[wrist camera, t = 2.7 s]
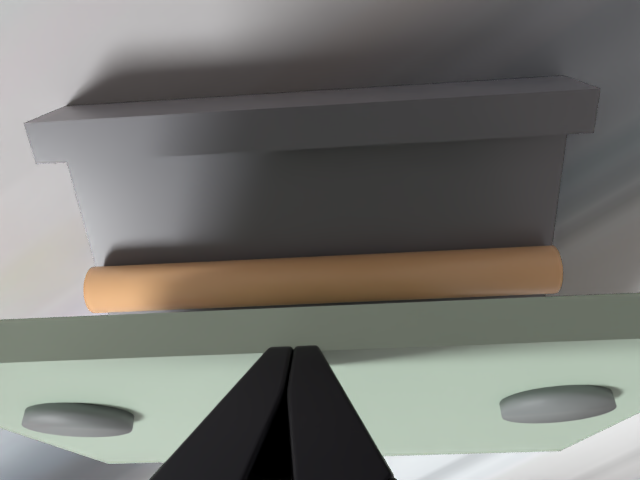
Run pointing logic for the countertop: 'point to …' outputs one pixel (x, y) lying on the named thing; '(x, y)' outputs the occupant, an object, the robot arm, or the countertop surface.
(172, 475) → the robot arm
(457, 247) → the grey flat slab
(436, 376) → the cover
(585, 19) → the countertop surface
